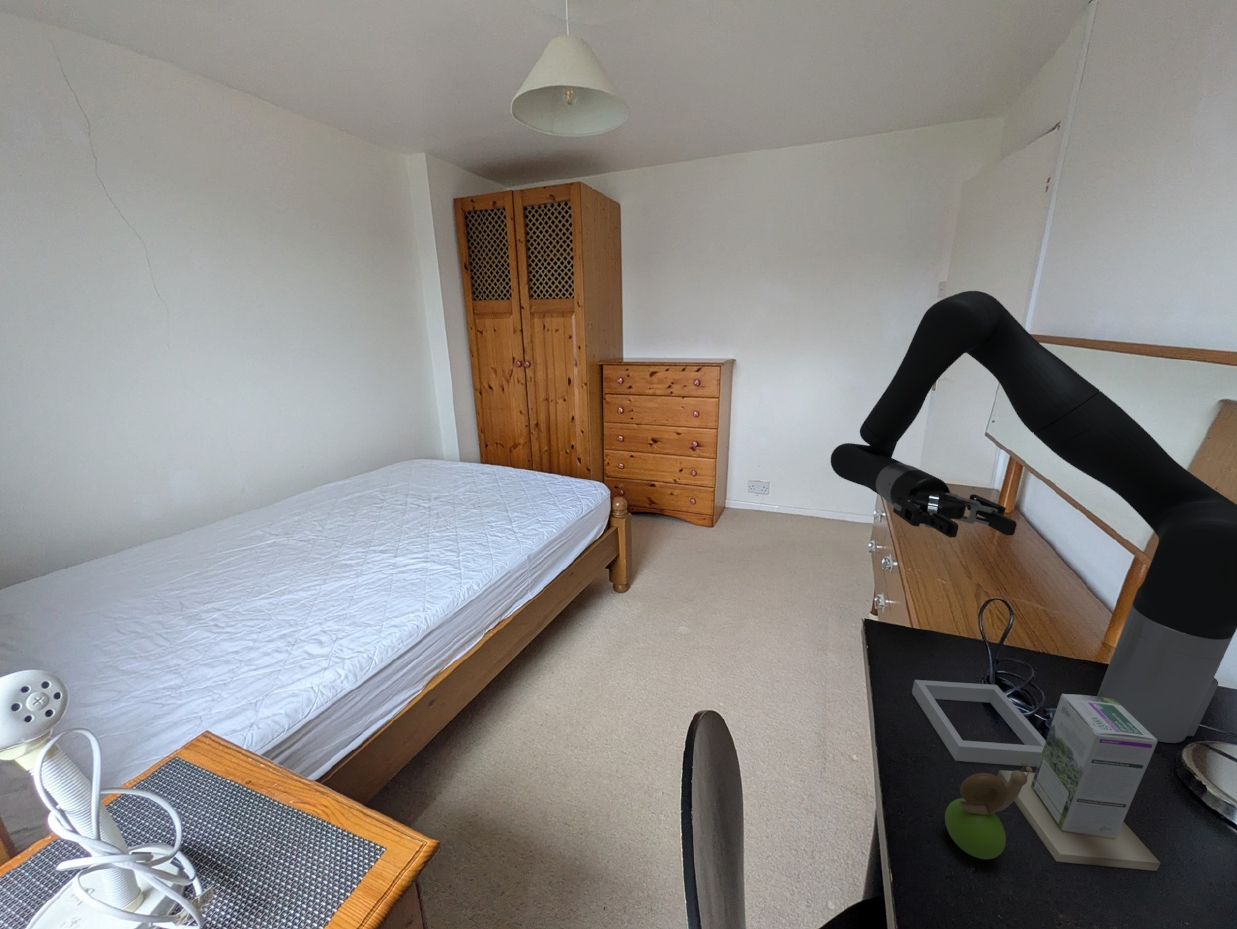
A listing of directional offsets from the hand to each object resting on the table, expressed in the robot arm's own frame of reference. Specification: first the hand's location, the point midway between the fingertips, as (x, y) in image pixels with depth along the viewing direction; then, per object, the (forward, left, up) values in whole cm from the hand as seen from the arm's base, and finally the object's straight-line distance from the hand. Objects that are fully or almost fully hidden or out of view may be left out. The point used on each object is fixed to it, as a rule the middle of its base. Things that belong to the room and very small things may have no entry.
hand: (984, 530), depth 67 cm
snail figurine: (+9, +24, -28) cm, 38 cm away
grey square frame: (-1, +7, -28) cm, 29 cm away
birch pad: (-4, +20, -28) cm, 35 cm away
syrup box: (-4, +20, -27) cm, 34 cm away
